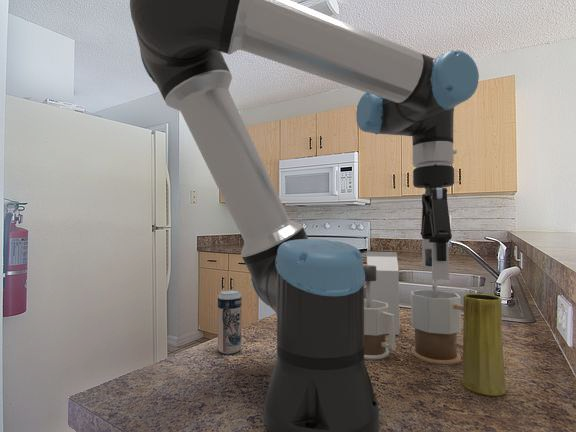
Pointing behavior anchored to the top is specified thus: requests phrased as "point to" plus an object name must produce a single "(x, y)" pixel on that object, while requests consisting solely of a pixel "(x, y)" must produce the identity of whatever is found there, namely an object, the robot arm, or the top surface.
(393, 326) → the press cream
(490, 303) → the vase
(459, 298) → the press copper
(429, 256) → the plunger
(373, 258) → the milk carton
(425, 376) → the top surface
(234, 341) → the beer can
